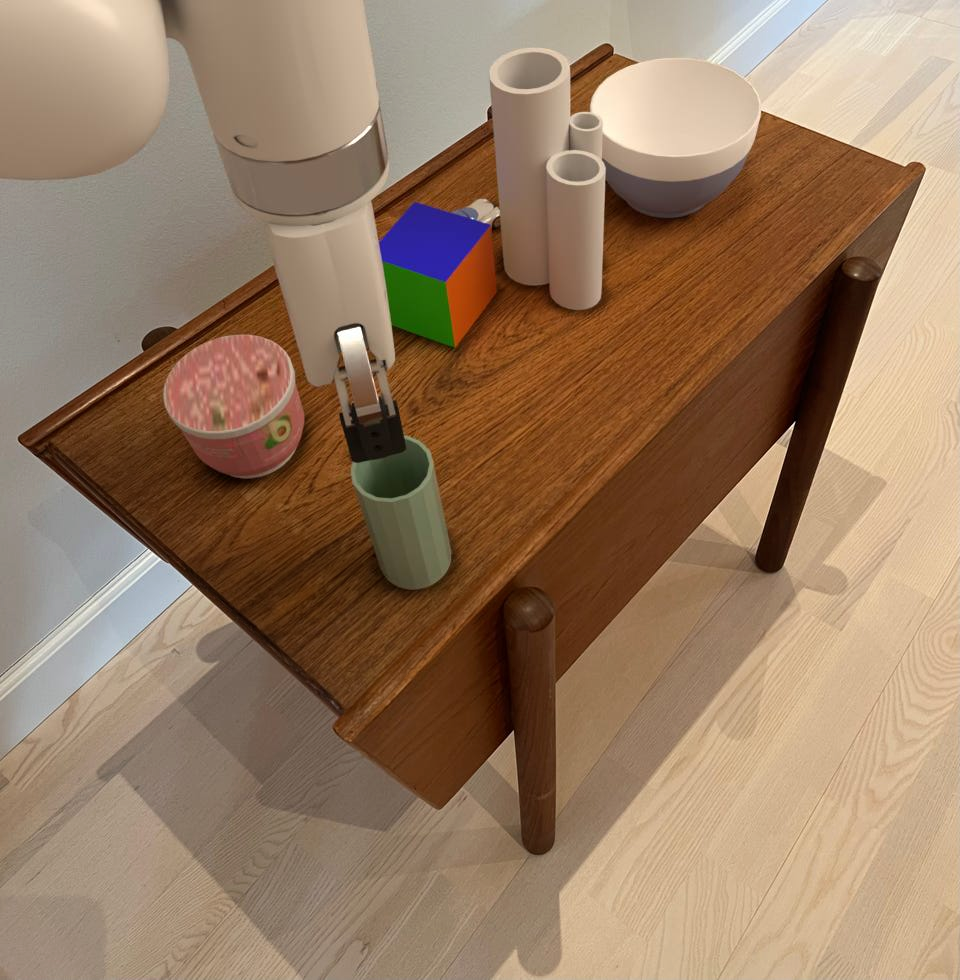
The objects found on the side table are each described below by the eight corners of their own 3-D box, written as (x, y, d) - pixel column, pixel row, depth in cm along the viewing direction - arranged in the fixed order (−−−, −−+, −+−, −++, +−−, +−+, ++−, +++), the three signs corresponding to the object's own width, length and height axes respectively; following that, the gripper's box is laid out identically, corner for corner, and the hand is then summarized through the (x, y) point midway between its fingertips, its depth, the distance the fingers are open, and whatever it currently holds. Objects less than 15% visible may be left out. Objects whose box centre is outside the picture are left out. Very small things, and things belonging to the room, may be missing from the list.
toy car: (532, 209, 96) (531, 188, 94) (436, 262, 93) (433, 241, 91) (510, 192, 98) (509, 171, 96) (416, 244, 95) (412, 223, 93)
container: (198, 505, 78) (164, 446, 72) (191, 411, 84) (159, 349, 78) (323, 475, 79) (300, 414, 72) (307, 385, 85) (285, 321, 78)
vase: (489, 268, 92) (471, 78, 75) (535, 228, 95) (527, 36, 78) (582, 317, 87) (585, 125, 71) (628, 273, 90) (640, 79, 74)
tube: (387, 597, 72) (358, 510, 62) (374, 538, 75) (344, 446, 65) (458, 579, 72) (441, 489, 62) (442, 520, 75) (423, 426, 66)
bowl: (647, 124, 103) (653, 40, 95) (776, 176, 96) (794, 90, 88) (556, 201, 97) (555, 118, 89) (688, 263, 90) (699, 179, 82)
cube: (425, 268, 93) (414, 201, 86) (496, 292, 90) (491, 224, 83) (382, 321, 89) (366, 256, 82) (455, 347, 86) (445, 282, 80)
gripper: (208, 65, 48) (285, 311, 62) (242, 289, 38) (325, 521, 52) (352, 37, 49) (396, 286, 63) (423, 250, 39) (457, 490, 53)
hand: (364, 393), depth 57 cm, fingers open, 9 cm apart
